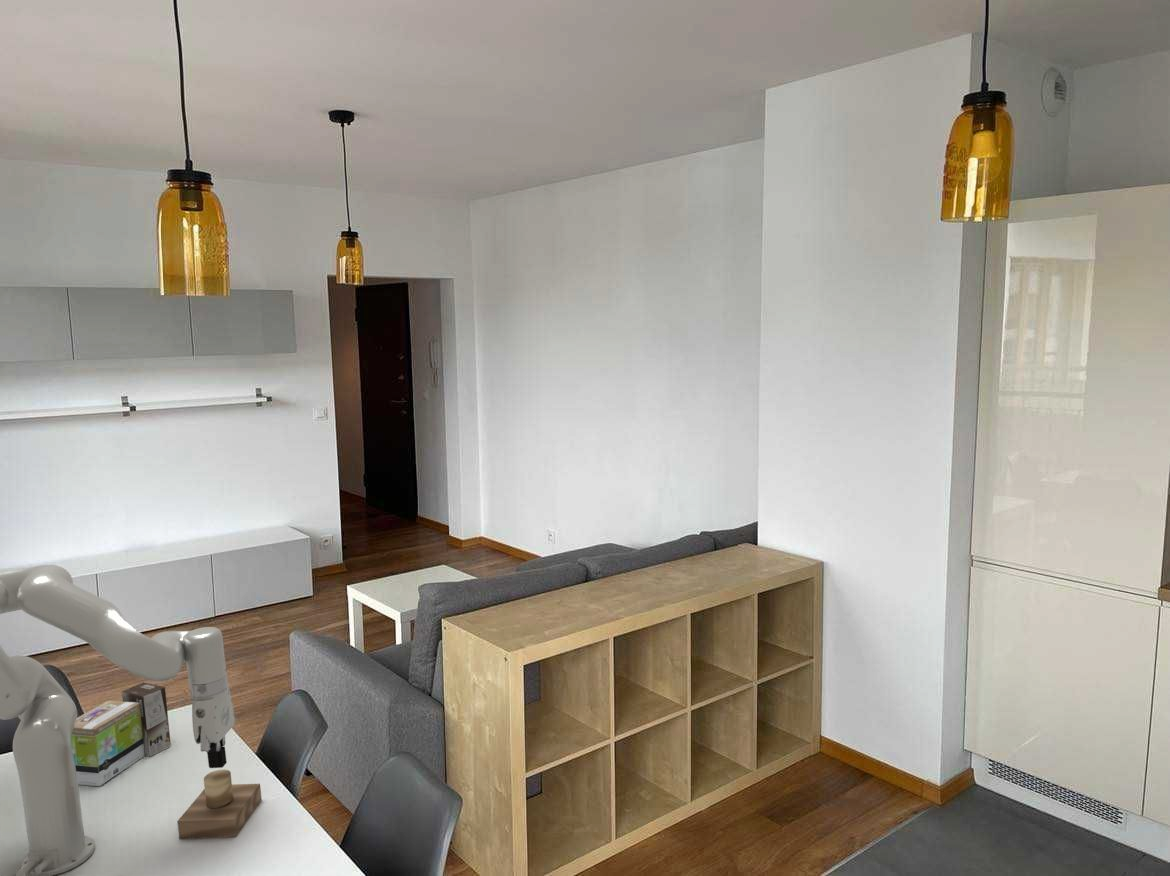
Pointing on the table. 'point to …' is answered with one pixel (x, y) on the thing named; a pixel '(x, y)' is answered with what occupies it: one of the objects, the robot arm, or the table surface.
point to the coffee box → (151, 715)
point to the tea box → (107, 741)
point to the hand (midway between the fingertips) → (217, 765)
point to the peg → (218, 789)
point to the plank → (220, 814)
